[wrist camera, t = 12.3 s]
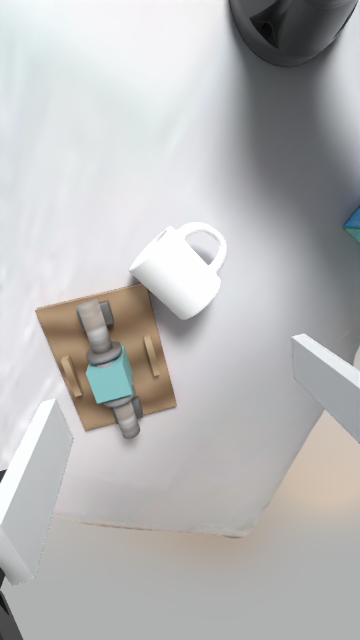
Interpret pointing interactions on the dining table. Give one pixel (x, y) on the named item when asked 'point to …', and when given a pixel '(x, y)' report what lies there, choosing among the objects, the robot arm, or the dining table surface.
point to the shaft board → (110, 354)
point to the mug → (180, 270)
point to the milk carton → (354, 225)
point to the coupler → (111, 378)
